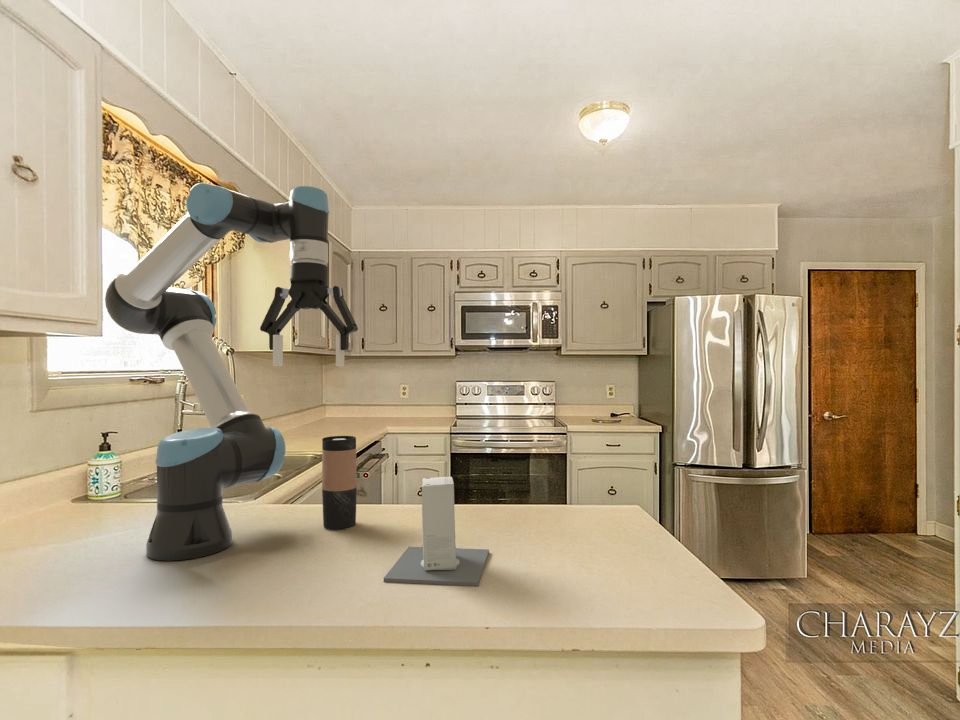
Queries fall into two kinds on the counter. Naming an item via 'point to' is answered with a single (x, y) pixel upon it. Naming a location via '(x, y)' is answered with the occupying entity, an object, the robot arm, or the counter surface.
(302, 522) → the counter surface
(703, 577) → the counter surface
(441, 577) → the mat
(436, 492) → the skincare box
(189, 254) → the robot arm
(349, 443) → the travel mug
